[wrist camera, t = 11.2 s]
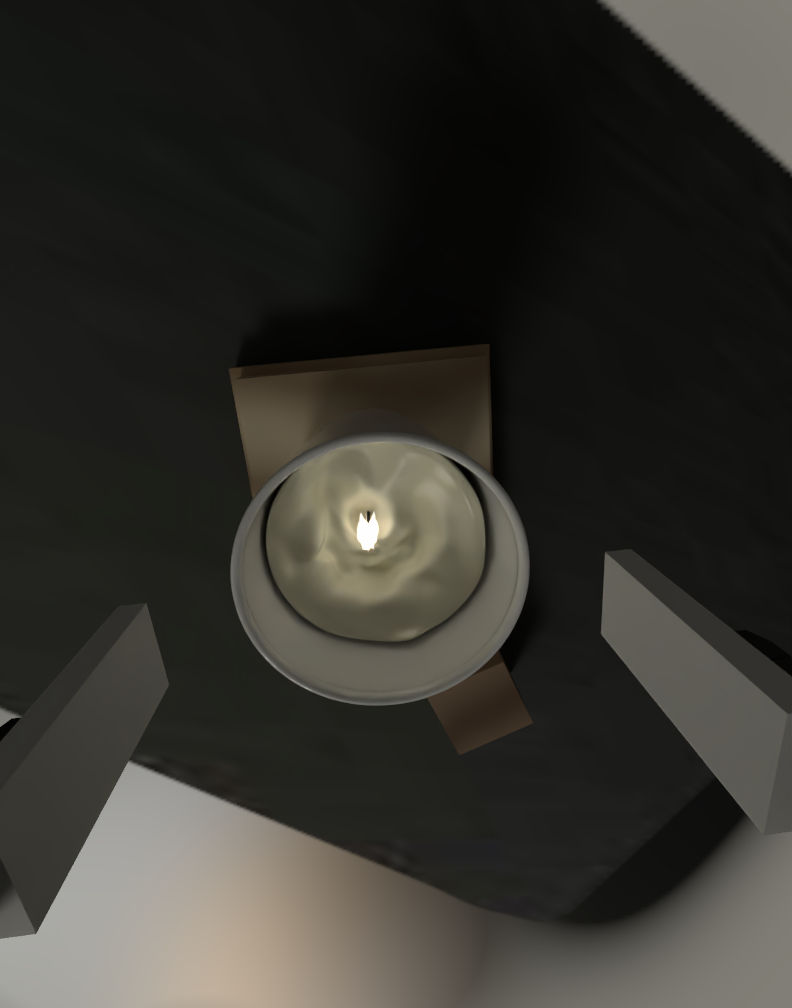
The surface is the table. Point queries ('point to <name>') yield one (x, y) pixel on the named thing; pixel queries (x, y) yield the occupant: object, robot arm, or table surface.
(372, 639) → the candle holder
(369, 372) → the stand
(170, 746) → the table surface
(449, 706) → the walnut block
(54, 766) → the robot arm
